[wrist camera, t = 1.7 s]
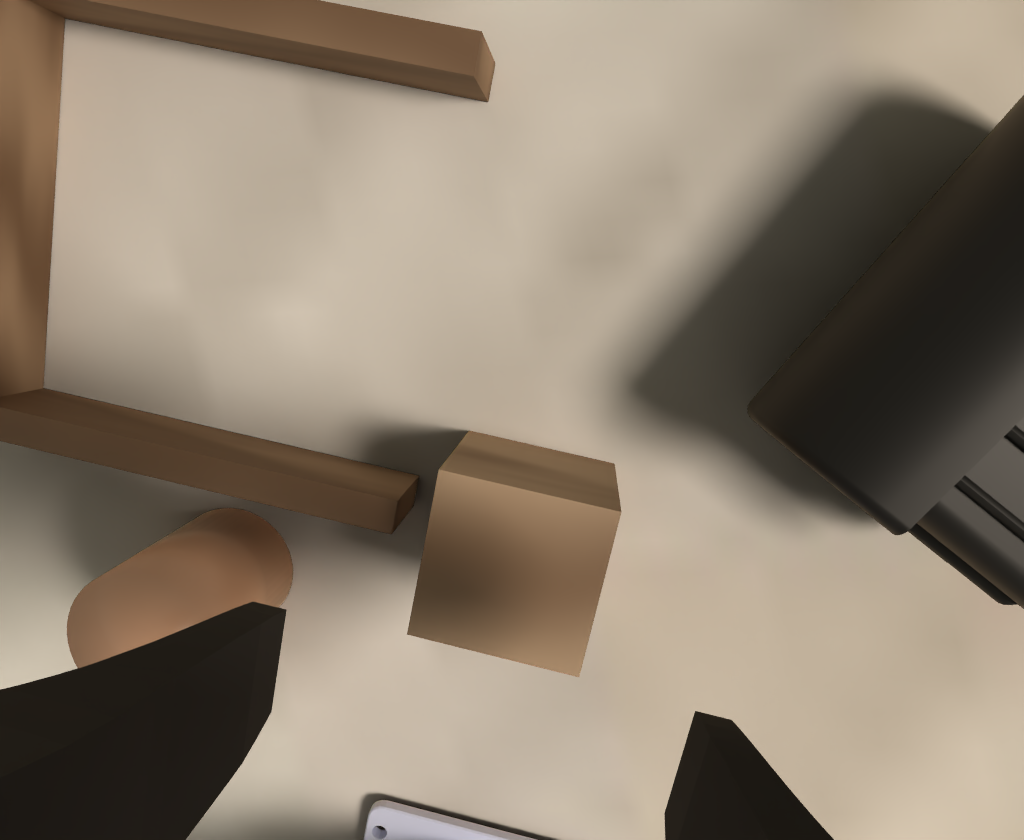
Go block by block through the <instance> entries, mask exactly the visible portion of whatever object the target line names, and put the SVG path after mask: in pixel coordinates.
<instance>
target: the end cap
mask: <svg viewBox="0 0 1024 840" xmlns="http://www.w3.org/2000/svg"><path fill="white" fill-rule="evenodd" d="M747 410H748V414H749V417H750V418H751V419H752V420H753V421H754V422H756V423H757V424H758V425H759V426H760V427H761V428H763V429H764V430H765V431H766V432H768V433H769V434H770V435H771V436H772V437H774V438H775V439H776V440H777V441H778V442H780V443H781V444H782V445H783V446H785V447H786V448H787V449H788V450H789V451H791V452H792V453H793V454H794V455H796V456H797V457H798V458H799V459H801V460H802V461H803V462H804V463H805V464H807V465H808V466H809V467H810V468H812V469H813V470H814V471H815V472H817V473H818V474H819V475H820V476H821V477H823V478H824V479H825V480H826V481H828V482H829V483H830V484H831V485H833V486H834V487H835V488H836V489H838V490H839V491H840V492H841V493H843V494H844V495H845V496H846V497H848V498H849V499H850V500H851V501H852V502H854V503H855V504H856V505H857V506H859V507H860V508H861V509H862V510H864V511H865V512H866V513H867V514H869V515H870V516H871V517H872V518H874V519H875V520H876V521H877V522H879V523H880V524H881V525H882V526H884V527H885V528H886V529H887V530H889V531H890V532H891V533H892V534H894V535H901V534H904V533H906V532H907V531H908V532H909V533H911V534H912V535H913V536H914V537H916V538H917V539H918V540H920V541H921V542H922V543H923V544H925V545H926V546H927V547H928V548H930V549H931V550H932V551H933V552H935V553H936V554H937V555H938V556H940V557H941V558H942V559H943V560H945V561H946V562H948V563H949V564H950V565H952V566H953V567H954V568H955V569H957V570H958V571H959V572H960V573H962V574H963V575H964V576H965V577H967V578H968V579H969V580H970V581H972V582H973V583H974V584H975V585H977V586H978V587H979V588H980V589H982V590H983V591H984V592H985V593H987V594H988V595H989V596H990V597H992V598H993V599H994V600H995V601H997V602H998V603H1000V604H1003V605H1015V604H1018V605H1019V606H1021V607H1022V608H1023V609H1024V95H1023V96H1022V98H1021V99H1020V100H1019V101H1018V102H1017V103H1016V104H1015V105H1014V107H1013V108H1012V109H1011V110H1010V111H1009V112H1008V113H1007V114H1006V116H1005V117H1004V118H1003V119H1002V120H1001V121H1000V122H999V123H998V124H997V126H996V127H995V128H994V129H993V130H992V131H991V132H990V133H989V135H988V136H987V137H986V138H985V139H984V140H983V141H982V142H981V144H980V145H979V146H978V147H977V148H976V149H975V150H974V151H973V153H972V154H971V155H970V156H969V157H968V158H967V159H966V160H965V162H964V163H963V164H962V165H961V166H960V167H959V168H958V169H957V170H956V172H955V173H954V174H953V175H952V176H951V177H950V178H949V179H948V181H947V182H946V183H945V184H944V185H943V186H942V187H941V188H940V190H939V191H938V192H937V193H936V194H935V195H934V196H933V197H932V199H931V200H930V201H929V202H928V203H927V204H926V205H925V206H924V207H923V209H922V210H921V211H920V212H919V213H918V214H917V215H916V216H915V218H914V219H913V220H912V221H911V222H910V223H909V224H908V225H907V227H906V228H905V229H904V230H903V231H902V232H901V233H900V234H899V236H898V237H897V238H896V239H895V240H894V241H893V242H892V243H891V244H890V246H889V247H888V248H887V249H886V250H885V251H884V252H883V253H882V255H881V256H880V257H879V258H878V259H877V260H876V261H875V262H874V264H873V265H872V266H871V267H870V268H869V269H868V270H867V271H866V273H865V274H864V275H863V276H862V277H861V278H860V279H859V280H858V281H857V283H856V284H855V285H854V286H853V287H852V288H851V289H850V290H849V292H848V293H847V294H846V295H845V296H844V297H843V298H842V299H841V301H840V302H839V303H838V304H837V305H836V306H835V307H834V308H833V310H832V311H831V312H830V313H829V314H828V315H827V316H826V317H825V319H824V320H823V321H822V322H821V323H820V324H819V325H818V326H817V327H816V329H815V330H814V331H813V332H812V333H811V334H810V335H809V336H808V338H807V339H806V340H805V341H804V342H803V343H802V344H801V345H800V347H799V348H798V349H797V350H796V351H795V352H794V353H793V354H792V356H791V357H790V358H789V359H788V360H787V361H786V362H785V363H784V364H783V366H782V367H781V368H780V369H779V370H778V371H777V372H776V373H775V375H774V376H773V377H772V378H771V379H770V380H769V381H768V382H767V384H766V385H765V386H764V387H763V388H762V389H761V390H760V391H759V393H758V394H757V395H756V396H755V397H754V398H753V399H752V400H751V401H750V403H749V405H748V408H747Z"/></svg>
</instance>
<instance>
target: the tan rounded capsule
mask: <svg viewBox="0 0 1024 840" xmlns="http://www.w3.org/2000/svg"><path fill="white" fill-rule="evenodd" d="M292 580H293V565H292V559H291V556H290V553H289V550H288V548H287V546H286V543H285V542H284V540H283V539H282V537H281V536H280V534H279V533H278V532H277V531H276V530H275V529H274V528H273V527H272V526H271V525H270V524H269V523H268V522H266V521H265V520H264V519H262V518H261V517H259V516H257V515H255V514H253V513H251V512H248V511H245V510H241V509H235V508H220V509H215V510H211V511H208V512H206V513H204V514H202V515H200V516H198V517H197V518H195V519H193V520H192V521H190V522H189V523H187V524H185V525H184V526H182V527H180V528H179V529H177V530H175V531H174V532H172V533H170V534H169V535H167V536H165V537H164V538H162V539H161V540H159V541H157V542H156V543H154V544H152V545H151V546H149V547H147V548H146V549H144V550H142V551H141V552H139V553H138V554H136V555H134V556H133V557H131V558H129V559H128V560H126V561H124V562H123V563H121V564H119V565H118V566H116V567H114V568H113V569H111V570H110V571H108V572H106V573H105V574H103V575H101V576H100V577H98V578H96V579H95V580H93V581H92V582H90V583H89V584H88V585H86V586H85V587H84V588H83V589H82V590H81V592H80V593H79V594H78V595H77V597H76V598H75V600H74V602H73V604H72V606H71V609H70V612H69V616H68V622H67V637H68V644H69V648H70V652H71V654H72V657H73V660H74V662H75V664H76V666H77V667H78V668H81V667H84V666H87V665H90V664H93V663H96V662H99V661H101V660H104V659H107V658H110V657H112V656H115V655H118V654H121V653H123V652H126V651H129V650H132V649H134V648H137V647H140V646H143V645H145V644H148V643H151V642H153V641H156V640H158V639H161V638H163V637H166V636H168V635H171V634H173V633H176V632H178V631H180V630H183V629H185V628H188V627H190V626H193V625H195V624H197V623H200V622H202V621H205V620H207V619H209V618H212V617H214V616H217V615H219V614H221V613H224V612H226V611H229V610H231V609H234V608H236V607H239V606H241V605H244V604H247V603H250V602H257V603H261V604H266V605H270V606H274V607H278V608H279V607H280V606H281V605H282V603H283V602H284V601H285V599H286V597H287V596H288V594H289V591H290V588H291V585H292Z"/></svg>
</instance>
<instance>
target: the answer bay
mask: <svg viewBox="0 0 1024 840" xmlns="http://www.w3.org/2000/svg"><path fill="white" fill-rule="evenodd" d="M65 18H66V19H71V20H76V21H81V22H86V23H91V24H96V25H101V26H106V27H111V28H117V29H122V30H127V31H132V32H137V33H142V34H147V35H152V36H157V37H162V38H167V39H172V40H177V41H182V42H187V43H192V44H197V45H203V46H208V47H213V48H218V49H223V50H228V51H233V52H238V53H243V54H248V55H253V56H258V57H263V58H268V59H273V60H278V61H283V62H289V63H294V64H299V65H304V66H309V67H314V68H319V69H324V70H329V71H334V72H339V73H344V74H349V75H354V76H359V77H364V78H369V79H375V80H380V81H385V82H390V83H395V84H400V85H405V86H410V87H415V88H420V89H425V90H430V91H435V92H440V93H445V94H450V95H455V96H460V97H466V98H471V99H476V100H481V101H486V102H488V100H489V95H490V89H491V84H492V79H493V73H494V68H495V61H494V59H493V57H492V54H491V52H490V50H489V47H488V45H487V43H486V40H485V38H484V36H483V33H482V31H476V30H471V29H466V28H461V27H456V26H450V25H445V24H440V23H435V22H429V21H424V20H419V19H414V18H409V17H403V16H398V15H393V14H388V13H382V12H377V11H372V10H367V9H362V8H356V7H351V6H346V5H341V4H335V3H330V2H325V1H320V0H0V441H3V442H7V443H11V444H15V445H20V446H24V447H28V448H32V449H36V450H41V451H45V452H49V453H53V454H57V455H62V456H66V457H70V458H74V459H78V460H82V461H87V462H91V463H95V464H99V465H103V466H108V467H112V468H116V469H120V470H124V471H129V472H133V473H137V474H141V475H145V476H149V477H154V478H158V479H162V480H166V481H170V482H175V483H179V484H183V485H187V486H191V487H196V488H200V489H204V490H208V491H212V492H217V493H221V494H225V495H229V496H233V497H237V498H242V499H246V500H250V501H254V502H258V503H263V504H267V505H271V506H275V507H279V508H284V509H288V510H292V511H296V512H300V513H304V514H309V515H313V516H317V517H321V518H325V519H330V520H334V521H338V522H342V523H346V524H351V525H355V526H359V527H363V528H367V529H371V530H376V531H380V532H384V533H388V534H392V533H393V532H394V531H395V529H396V528H397V527H398V525H399V524H400V523H401V521H402V520H403V519H404V517H405V516H406V515H407V514H408V512H409V511H410V510H411V508H412V507H413V506H414V500H415V495H416V490H417V484H418V479H419V476H418V475H414V474H409V473H405V472H401V471H396V470H392V469H388V468H383V467H379V466H375V465H371V464H366V463H362V462H358V461H353V460H349V459H345V458H340V457H336V456H332V455H328V454H323V453H319V452H315V451H310V450H306V449H302V448H298V447H293V446H289V445H285V444H280V443H276V442H272V441H267V440H263V439H259V438H255V437H250V436H246V435H242V434H237V433H233V432H229V431H225V430H220V429H216V428H212V427H207V426H203V425H199V424H194V423H190V422H186V421H182V420H177V419H173V418H169V417H164V416H160V415H156V414H152V413H147V412H143V411H139V410H134V409H130V408H126V407H121V406H117V405H113V404H109V403H104V402H100V401H96V400H91V399H87V398H83V397H79V396H74V395H70V394H66V393H61V392H57V391H53V390H48V389H44V388H43V383H44V366H45V349H46V332H47V315H48V298H49V281H50V264H51V247H52V230H53V213H54V196H55V179H56V162H57V145H58V128H59V111H60V94H61V77H62V60H63V43H64V26H65Z"/></svg>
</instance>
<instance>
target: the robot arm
mask: <svg viewBox="0 0 1024 840" xmlns="http://www.w3.org/2000/svg"><path fill="white" fill-rule="evenodd" d="M285 616H286V609H282V608H278V607H274V606H270V605H266V604H261V603H257V602H250V603H247V604H244V605H241V606H239V607H236V608H234V609H231V610H229V611H226V612H224V613H221V614H219V615H217V616H214V617H212V618H209V619H207V620H205V621H202V622H200V623H197V624H195V625H193V626H190V627H188V628H185V629H183V630H180V631H178V632H176V633H173V634H171V635H168V636H166V637H163V638H161V639H158V640H156V641H153V642H151V643H148V644H145V645H143V646H140V647H137V648H134V649H132V650H129V651H126V652H123V653H121V654H118V655H115V656H112V657H110V658H107V659H104V660H101V661H99V662H96V663H93V664H90V665H87V666H84V667H81V668H78V669H75V670H71V671H68V672H65V673H61V674H58V675H55V676H51V677H47V678H44V679H40V680H36V681H33V682H29V683H25V684H22V685H18V686H14V687H10V688H6V689H1V690H0V840H186V838H187V837H188V836H189V834H190V833H191V832H192V830H193V829H194V828H195V826H196V825H197V824H198V822H199V821H200V820H201V818H202V817H203V816H204V814H205V813H206V812H207V810H208V809H209V808H210V806H211V805H212V804H213V802H214V801H215V800H216V798H217V797H218V795H219V794H220V793H221V791H222V790H223V789H224V787H225V786H226V785H227V783H228V782H229V781H230V779H231V778H232V777H233V775H234V774H235V772H236V771H237V770H238V768H239V767H240V765H241V764H242V762H243V761H244V759H245V757H246V756H247V754H248V752H249V751H250V749H251V747H252V745H253V744H254V742H255V740H256V739H257V737H258V735H259V733H260V731H261V729H262V728H263V726H264V724H265V722H266V720H267V719H268V717H269V715H270V713H271V710H272V704H273V697H274V690H275V683H276V676H277V670H278V663H279V656H280V649H281V643H282V636H283V629H284V622H285ZM377 826H382V827H384V828H385V829H386V830H381V829H379V828H378V827H377ZM665 838H666V840H834V839H833V838H832V837H831V836H830V835H829V834H828V833H827V832H826V830H825V829H824V828H823V827H822V826H821V825H820V824H819V823H818V822H817V820H816V819H815V818H814V817H813V816H812V815H811V814H810V812H809V811H808V810H807V809H806V808H805V807H804V806H803V804H802V803H801V802H800V801H799V800H798V799H797V797H796V796H795V795H794V794H793V793H792V791H791V790H790V789H789V788H788V787H787V785H786V784H785V783H784V782H783V781H782V779H781V778H780V777H779V776H778V775H777V773H776V772H775V771H774V770H773V769H772V767H771V766H770V765H769V764H768V762H767V761H766V760H765V759H764V758H763V756H762V755H761V754H760V753H759V751H758V750H757V749H756V748H755V747H754V745H753V744H752V743H751V742H750V741H749V739H748V738H747V737H746V736H745V735H744V733H743V732H742V731H741V730H740V729H739V728H738V727H737V725H736V724H735V723H734V722H733V721H732V720H729V719H725V718H721V717H717V716H713V715H709V714H705V713H701V712H697V711H695V714H694V717H693V720H692V724H691V727H690V730H689V734H688V737H687V740H686V744H685V747H684V750H683V754H682V757H681V760H680V764H679V767H678V770H677V774H676V777H675V780H674V784H673V787H672V790H671V794H670V797H669V800H668V804H667V807H666V810H665ZM364 840H536V839H532V838H529V837H525V836H521V835H517V834H513V833H510V832H506V831H502V830H498V829H494V828H491V827H487V826H483V825H479V824H475V823H472V822H468V821H464V820H460V819H456V818H453V817H449V816H445V815H441V814H437V813H434V812H430V811H426V810H422V809H418V808H415V807H411V806H407V805H403V804H399V803H396V802H392V801H388V800H379V801H376V802H375V803H374V804H373V805H372V807H371V809H370V812H369V814H368V819H367V824H366V829H365V834H364Z"/></svg>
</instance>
